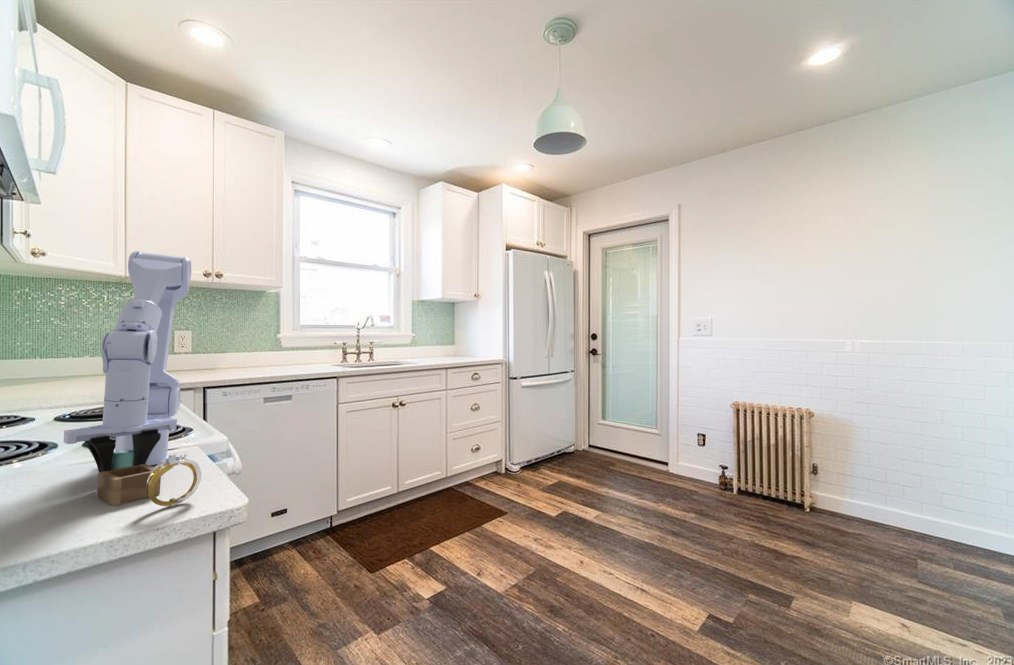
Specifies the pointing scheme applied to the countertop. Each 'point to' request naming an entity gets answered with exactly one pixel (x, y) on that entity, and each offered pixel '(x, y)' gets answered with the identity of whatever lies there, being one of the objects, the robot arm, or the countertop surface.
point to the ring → (170, 463)
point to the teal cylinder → (122, 459)
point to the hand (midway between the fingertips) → (121, 477)
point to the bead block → (125, 484)
